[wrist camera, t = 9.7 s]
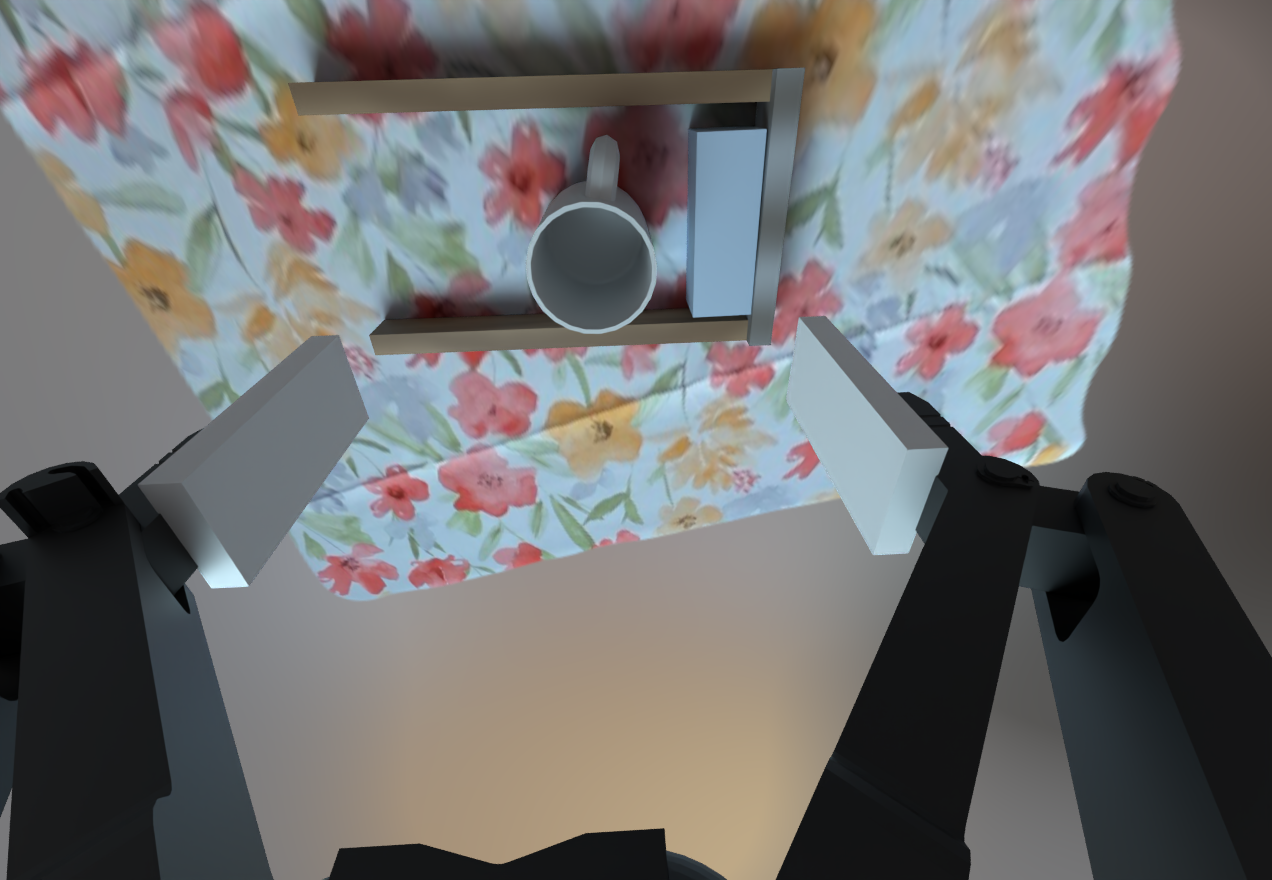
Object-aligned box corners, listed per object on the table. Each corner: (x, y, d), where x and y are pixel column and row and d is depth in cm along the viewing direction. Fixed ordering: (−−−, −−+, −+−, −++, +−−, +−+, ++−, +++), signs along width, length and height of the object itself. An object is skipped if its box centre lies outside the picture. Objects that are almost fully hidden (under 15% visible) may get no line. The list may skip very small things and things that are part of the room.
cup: (539, 279, 38) (522, 325, 30) (549, 119, 33) (532, 127, 25) (638, 294, 39) (645, 341, 31) (663, 141, 33) (679, 154, 26)
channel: (314, 83, 31) (278, 82, 28) (784, 70, 32) (805, 67, 28) (390, 338, 40) (370, 361, 36) (757, 324, 40) (770, 344, 37)
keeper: (697, 132, 30) (766, 129, 30) (688, 128, 33) (750, 125, 33) (693, 317, 36) (750, 314, 36) (685, 298, 39) (738, 295, 39)
